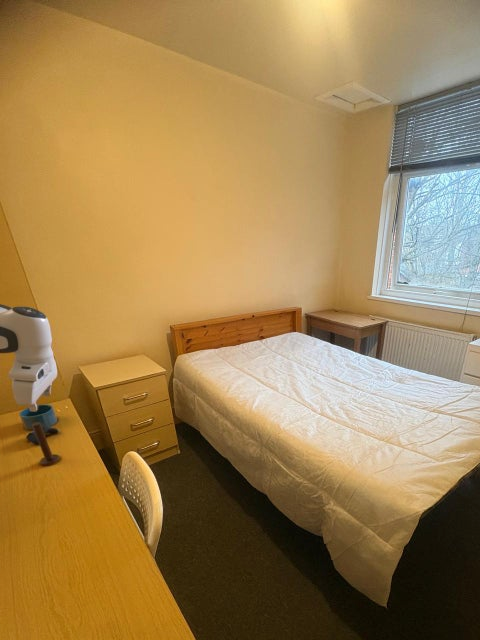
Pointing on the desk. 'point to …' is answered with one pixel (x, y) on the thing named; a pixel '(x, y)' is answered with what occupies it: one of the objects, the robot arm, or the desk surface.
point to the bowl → (38, 416)
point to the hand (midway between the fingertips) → (40, 402)
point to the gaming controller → (33, 438)
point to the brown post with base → (44, 446)
